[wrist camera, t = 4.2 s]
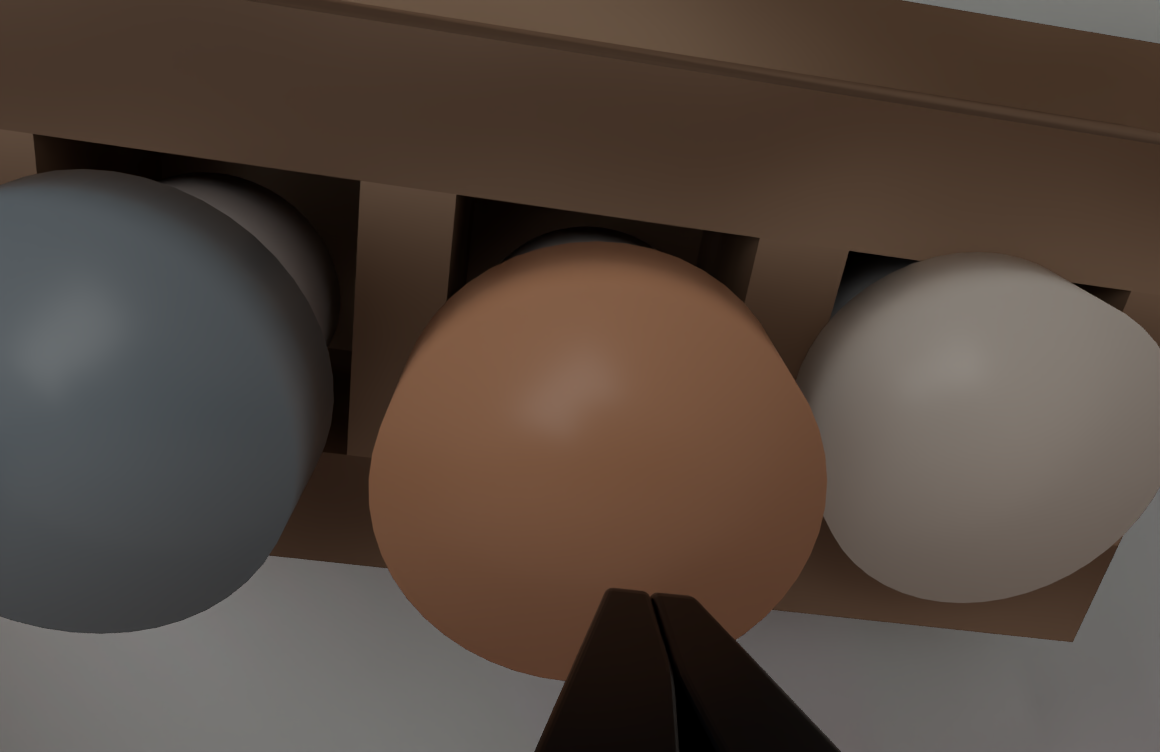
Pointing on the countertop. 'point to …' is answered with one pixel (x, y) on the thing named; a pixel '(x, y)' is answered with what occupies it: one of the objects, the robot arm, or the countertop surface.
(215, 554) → the knob
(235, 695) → the countertop surface
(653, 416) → the knob mid
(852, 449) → the knob
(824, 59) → the mount
